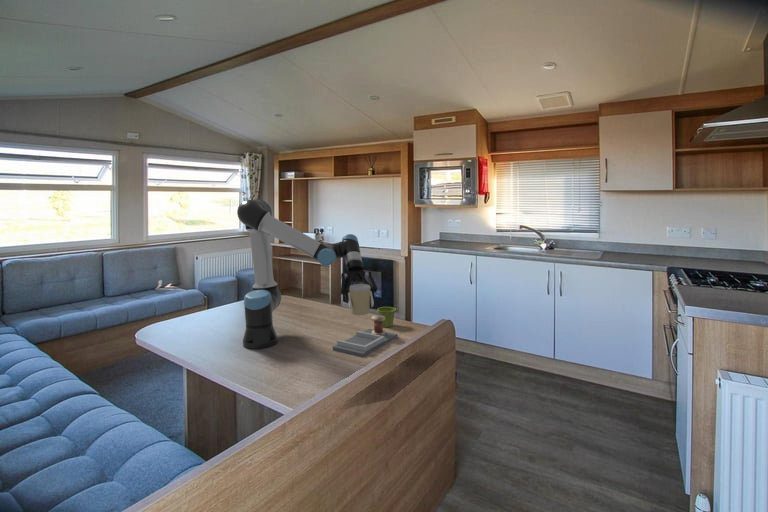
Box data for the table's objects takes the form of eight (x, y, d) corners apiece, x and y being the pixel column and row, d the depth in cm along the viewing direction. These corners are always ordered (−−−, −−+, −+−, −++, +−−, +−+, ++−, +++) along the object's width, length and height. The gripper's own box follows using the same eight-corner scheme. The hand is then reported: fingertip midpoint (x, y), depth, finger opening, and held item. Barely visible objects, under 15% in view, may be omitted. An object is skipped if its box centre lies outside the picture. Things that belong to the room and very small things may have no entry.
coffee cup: (372, 309, 184) (371, 283, 182) (369, 316, 175) (369, 288, 173) (351, 309, 185) (350, 283, 183) (348, 315, 176) (347, 288, 174)
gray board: (363, 357, 169) (362, 349, 168) (332, 350, 177) (332, 342, 177) (397, 337, 192) (397, 329, 192) (369, 331, 201) (369, 324, 200)
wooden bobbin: (374, 336, 189) (374, 319, 187) (369, 332, 195) (369, 316, 193) (387, 334, 191) (387, 318, 190) (382, 330, 197) (382, 314, 196)
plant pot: (385, 321, 216) (385, 305, 215) (399, 325, 210) (399, 308, 209) (373, 326, 209) (373, 309, 208) (388, 329, 203) (388, 312, 202)
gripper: (375, 267, 195) (384, 308, 182) (330, 269, 189) (335, 312, 176) (378, 257, 189) (387, 299, 176) (331, 260, 184) (337, 303, 171)
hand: (361, 306), depth 176 cm, fingers closed on coffee cup, 9 cm apart
